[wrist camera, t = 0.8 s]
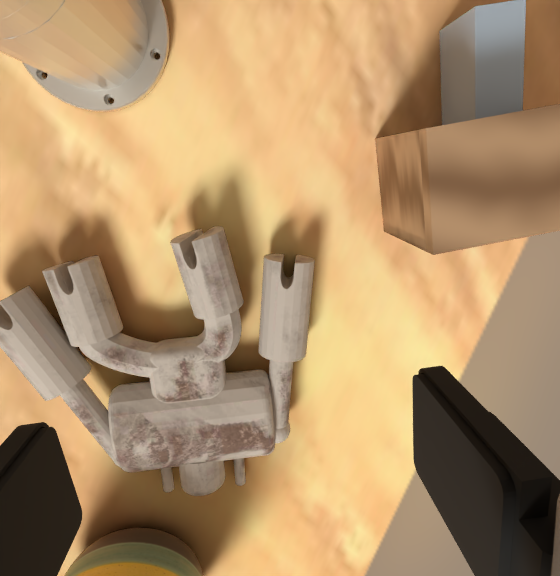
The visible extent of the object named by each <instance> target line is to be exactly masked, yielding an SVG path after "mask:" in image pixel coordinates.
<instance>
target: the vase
mask: <svg viewBox="0 0 560 576" xmlns="http://www.w3.org/2000/svg"><path fill="white" fill-rule="evenodd" d="M65 576H203V572H202V569H201V566H200V563H199V561H198V559H197V557H196V555H195V554H194V552H193V551H192V550H191V549H190V547H189V546H188V545H187V544H185V543H184V542H183V541H181V540H180V539H179V538H177V537H175V536H173V535H171V534H169V533H167V532H164V531H161V530H157V529H151V528H129V529H123V530H119V531H116V532H113V533H110V534H108V535H105V536H103V537H101V538H100V539H98V540H97V541H95V542H94V543H92V544H91V545H90V546H89V547H87V548H86V549H85V550H84V551H83V552H82V553H81V554H80V555H79V557H78V558H77V559H76V560H75V561H74V562H73V564H72V565H71V566H70V568H69V569H68V571H67V572H66V574H65Z"/></svg>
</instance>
